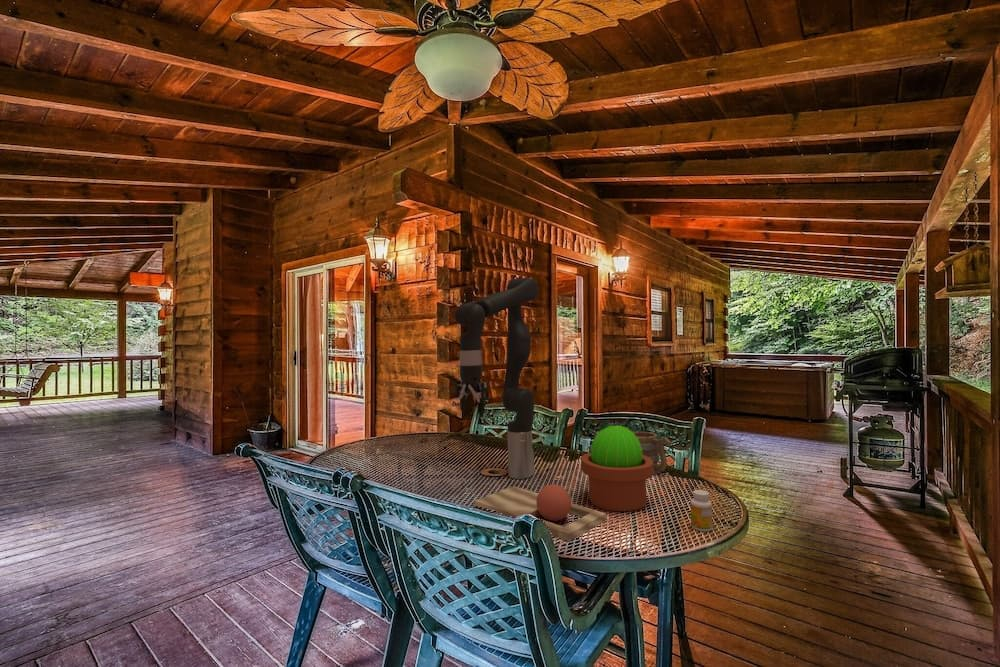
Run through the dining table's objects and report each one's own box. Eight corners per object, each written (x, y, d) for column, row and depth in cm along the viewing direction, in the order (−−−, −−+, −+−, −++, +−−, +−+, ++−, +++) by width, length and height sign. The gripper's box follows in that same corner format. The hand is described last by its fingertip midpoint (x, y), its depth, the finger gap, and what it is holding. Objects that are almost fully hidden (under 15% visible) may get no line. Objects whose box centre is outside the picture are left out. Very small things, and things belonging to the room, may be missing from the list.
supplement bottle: (687, 524, 129) (686, 489, 129) (705, 523, 130) (705, 488, 130) (697, 532, 124) (696, 496, 124) (716, 531, 124) (715, 495, 124)
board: (513, 491, 158) (513, 486, 158) (606, 520, 133) (605, 513, 133) (474, 506, 145) (474, 500, 145) (569, 541, 120) (569, 533, 120)
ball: (581, 491, 134) (573, 522, 135) (555, 475, 140) (547, 505, 142) (561, 499, 126) (552, 532, 128) (534, 481, 133) (525, 512, 135)
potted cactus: (667, 512, 138) (665, 428, 138) (597, 518, 135) (595, 432, 134) (634, 488, 160) (632, 415, 160) (573, 492, 156) (571, 418, 156)
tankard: (620, 468, 183) (619, 430, 183) (645, 464, 188) (644, 427, 188) (655, 482, 165) (654, 440, 165) (682, 477, 170) (681, 437, 170)
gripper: (493, 363, 153) (494, 412, 153) (465, 362, 163) (466, 408, 163) (477, 365, 148) (478, 416, 148) (448, 363, 158) (449, 411, 158)
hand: (472, 411), depth 156 cm, fingers open, 8 cm apart
